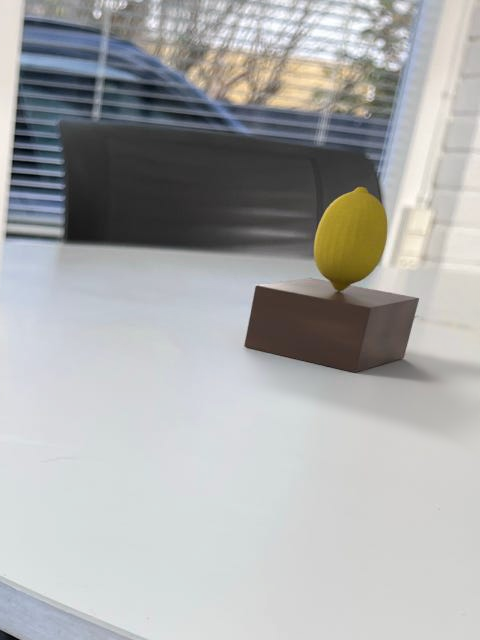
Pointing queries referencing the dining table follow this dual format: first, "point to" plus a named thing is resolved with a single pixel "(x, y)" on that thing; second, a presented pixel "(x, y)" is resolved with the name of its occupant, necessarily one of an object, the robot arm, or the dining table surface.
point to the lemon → (350, 238)
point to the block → (330, 323)
